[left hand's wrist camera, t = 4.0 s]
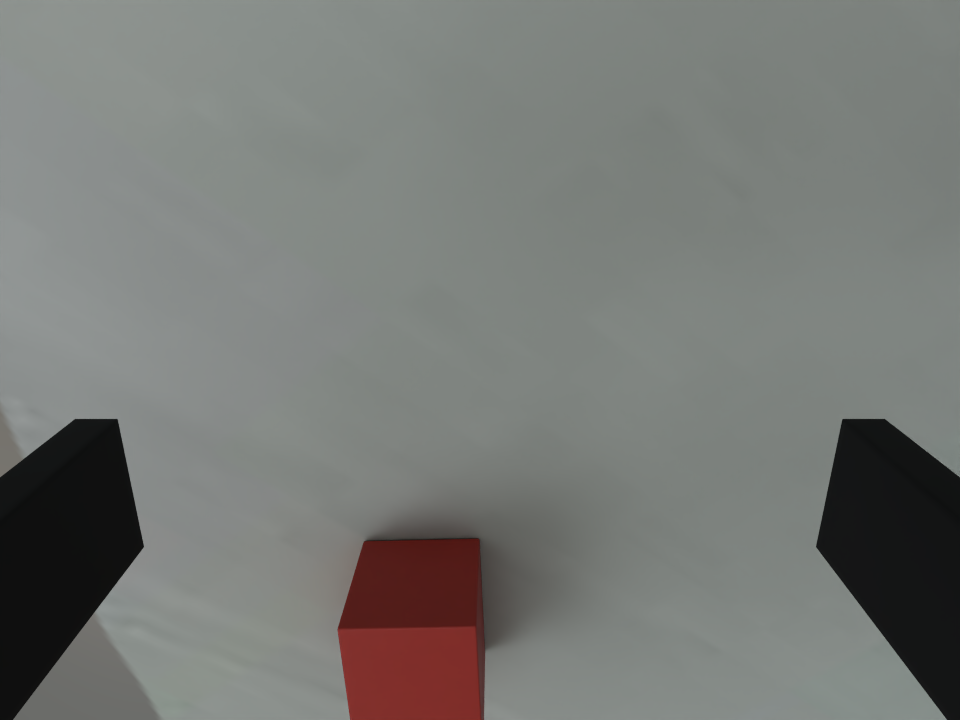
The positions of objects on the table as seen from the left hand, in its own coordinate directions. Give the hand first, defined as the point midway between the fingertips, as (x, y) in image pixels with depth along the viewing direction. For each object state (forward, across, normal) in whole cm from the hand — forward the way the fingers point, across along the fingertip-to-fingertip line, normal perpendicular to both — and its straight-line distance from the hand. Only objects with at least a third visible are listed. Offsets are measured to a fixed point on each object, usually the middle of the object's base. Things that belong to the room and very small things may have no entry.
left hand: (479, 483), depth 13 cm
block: (+9, +2, +10) cm, 14 cm away
